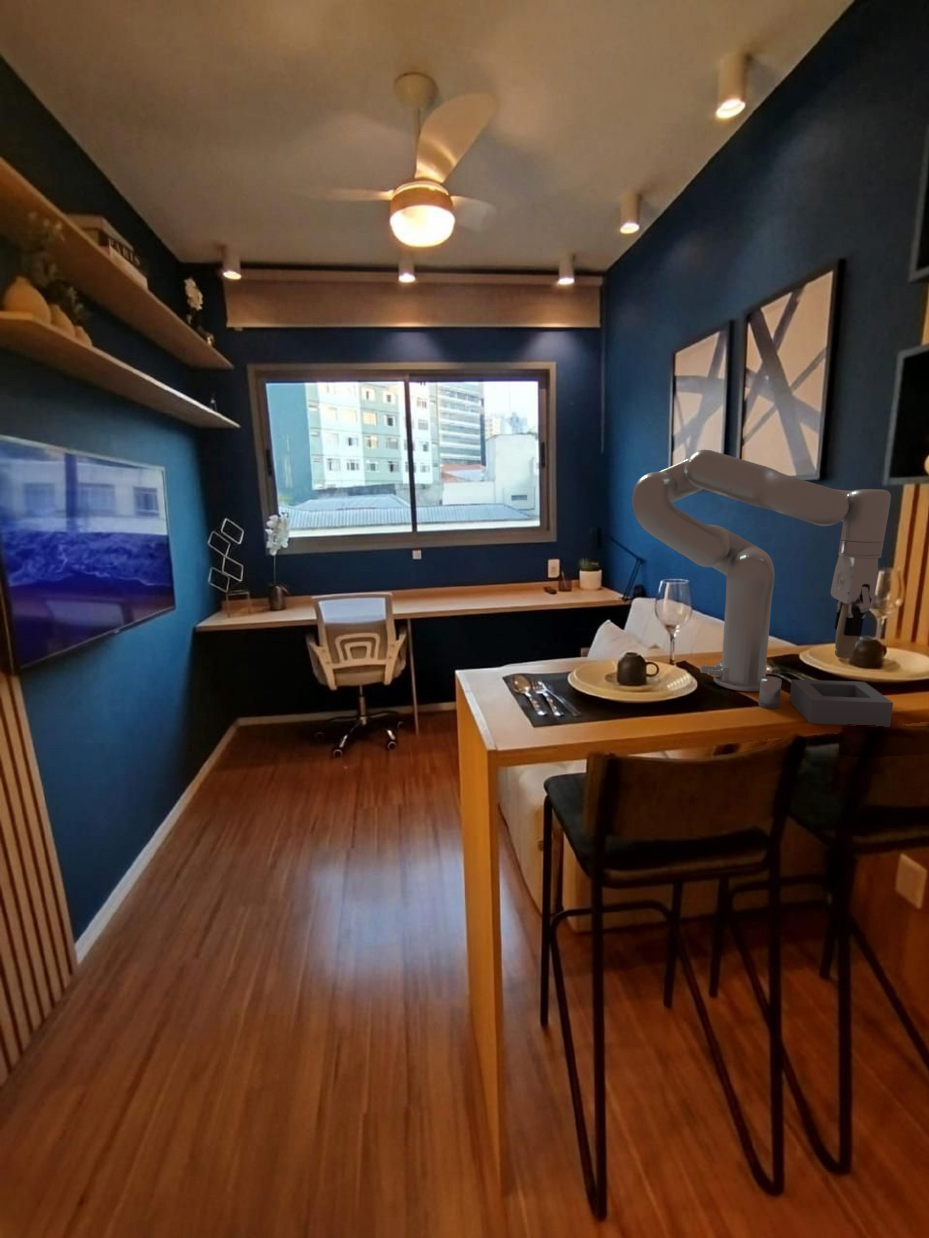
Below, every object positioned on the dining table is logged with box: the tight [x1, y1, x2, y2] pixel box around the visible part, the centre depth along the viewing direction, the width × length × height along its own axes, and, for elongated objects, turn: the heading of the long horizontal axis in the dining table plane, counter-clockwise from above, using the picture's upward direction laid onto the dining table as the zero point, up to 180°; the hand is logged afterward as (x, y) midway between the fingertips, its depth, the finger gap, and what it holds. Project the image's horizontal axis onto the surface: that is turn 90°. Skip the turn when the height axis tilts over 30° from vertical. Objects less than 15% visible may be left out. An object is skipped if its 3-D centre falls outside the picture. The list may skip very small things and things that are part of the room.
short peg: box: [757, 675, 782, 710], centre depth 121 cm, size 4×4×6 cm
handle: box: [834, 600, 860, 660], centre depth 123 cm, size 5×6×15 cm
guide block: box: [789, 679, 894, 728], centre depth 116 cm, size 14×12×5 cm
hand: (847, 631), depth 124 cm, fingers closed on handle, 4 cm apart
